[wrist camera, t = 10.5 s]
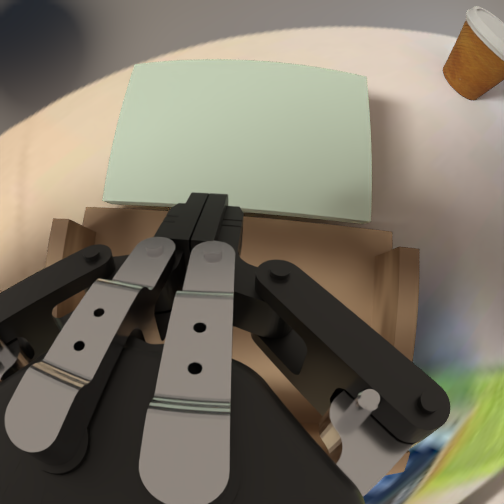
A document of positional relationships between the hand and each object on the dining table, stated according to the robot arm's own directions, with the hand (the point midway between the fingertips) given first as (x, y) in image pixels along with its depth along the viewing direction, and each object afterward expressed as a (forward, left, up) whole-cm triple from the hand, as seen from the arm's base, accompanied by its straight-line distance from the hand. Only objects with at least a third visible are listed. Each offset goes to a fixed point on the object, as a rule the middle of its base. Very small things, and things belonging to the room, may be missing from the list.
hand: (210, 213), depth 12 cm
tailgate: (+2, +1, -8) cm, 9 cm away
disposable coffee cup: (+34, -17, -11) cm, 40 cm away
